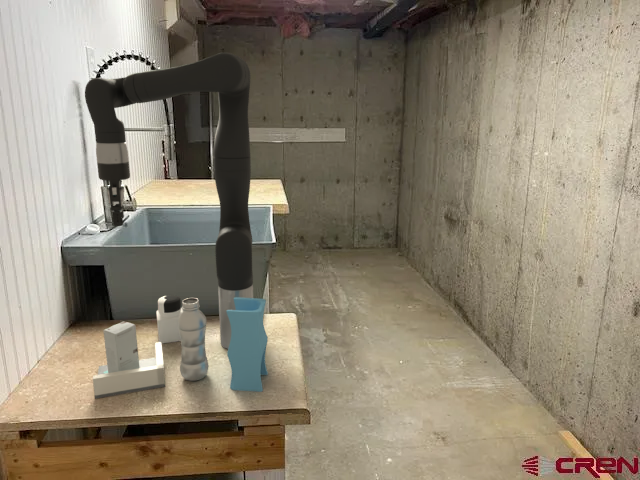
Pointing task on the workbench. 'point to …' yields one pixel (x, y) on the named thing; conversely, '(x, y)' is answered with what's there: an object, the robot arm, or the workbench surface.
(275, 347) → the workbench surface
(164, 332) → the medicine bottle
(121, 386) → the corner arena
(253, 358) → the vase
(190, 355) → the plastic bottle
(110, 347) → the skincare box
